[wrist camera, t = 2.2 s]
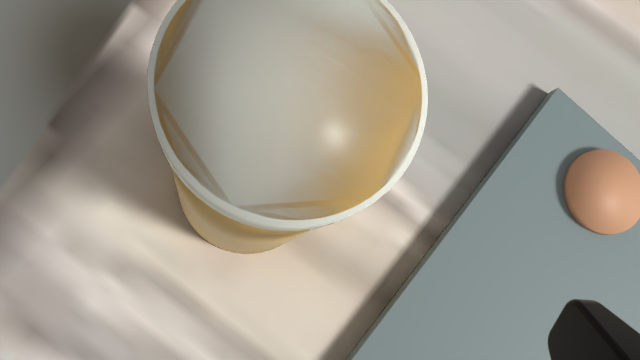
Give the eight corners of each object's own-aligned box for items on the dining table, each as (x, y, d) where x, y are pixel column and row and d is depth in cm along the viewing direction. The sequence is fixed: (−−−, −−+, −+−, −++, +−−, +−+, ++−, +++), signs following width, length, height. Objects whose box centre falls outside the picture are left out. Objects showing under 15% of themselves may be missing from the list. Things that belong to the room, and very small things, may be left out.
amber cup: (255, 287, 19) (310, 287, 9) (143, 191, 19) (81, 90, 9) (345, 180, 20) (478, 81, 10) (241, 89, 20) (278, -97, 10)
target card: (594, 651, 19) (614, 668, 18) (309, 407, 19) (314, 413, 18) (784, 303, 22) (808, 304, 22) (548, 92, 22) (563, 85, 21)
